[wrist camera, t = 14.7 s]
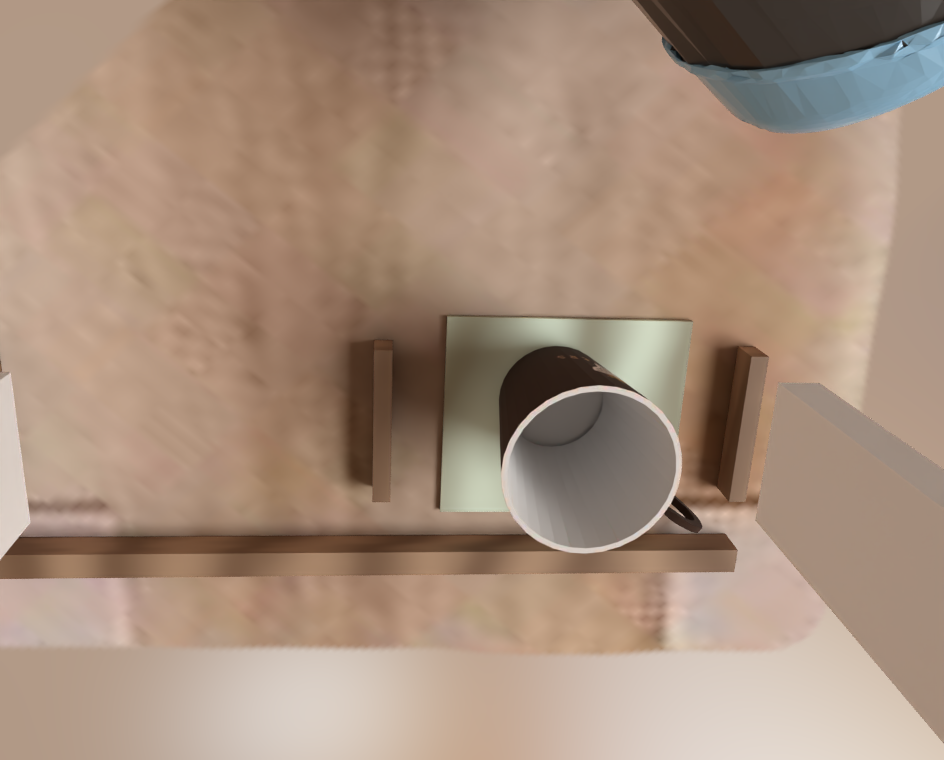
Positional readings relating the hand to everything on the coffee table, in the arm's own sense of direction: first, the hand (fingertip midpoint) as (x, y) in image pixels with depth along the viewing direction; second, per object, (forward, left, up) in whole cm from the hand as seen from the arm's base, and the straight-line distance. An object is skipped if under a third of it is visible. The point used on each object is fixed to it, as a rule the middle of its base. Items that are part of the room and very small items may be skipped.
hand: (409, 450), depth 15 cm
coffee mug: (-10, +12, -33) cm, 36 cm away
